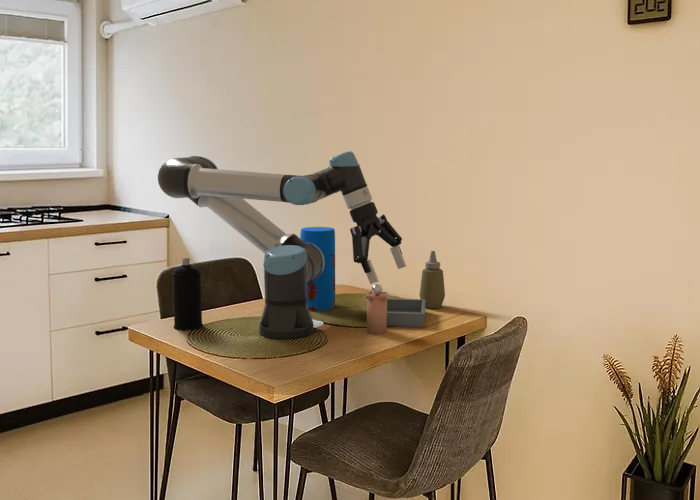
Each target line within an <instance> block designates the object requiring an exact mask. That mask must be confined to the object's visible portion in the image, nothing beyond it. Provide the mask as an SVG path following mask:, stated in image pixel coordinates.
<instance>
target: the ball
mask: <svg viewBox="0 0 700 500" xmlns="http://www.w3.org/2000/svg"><path fill="white" fill-rule="evenodd" d="M371 292H372V293H373V294H374V295H380V294H381V293H382V292H383V287H382V285H380V284H376V283H375V284H373V285H372V287H371Z"/></svg>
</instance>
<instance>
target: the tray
mask: <svg viewBox="0 0 700 500" xmlns="http://www.w3.org/2000/svg"><path fill="white" fill-rule="evenodd" d="M425 301H426V299H420V298H390V297H389V298H388V297H387V327H394V328H395V327H397V328H402V327H403V328H425V320H426V308H425Z"/></svg>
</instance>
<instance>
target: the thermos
mask: <svg viewBox="0 0 700 500" xmlns="http://www.w3.org/2000/svg"><path fill="white" fill-rule="evenodd" d="M299 236H300V237H299V238H300V239H301V240H303V241H304V242H309V243H312V244H314V245H316V246H317V247H318V248H319V249H320V250H321V251H322V253H323V255H324V260H325V266H324V270H323V272H322V274H321V275H320V276H319V277H318V279H317V280H316V281H314V282H312V283H310V284H308V285H307V306H308V309H309V311H313V310H323V311H329V310H332V309H334V308H335V306H336V305H335V304H336V231H335V228H333V227H329V226H328V227H327V226H309V227H308V226H307V227H302V228H301V229H300V235H299ZM328 309H329V310H328Z"/></svg>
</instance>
